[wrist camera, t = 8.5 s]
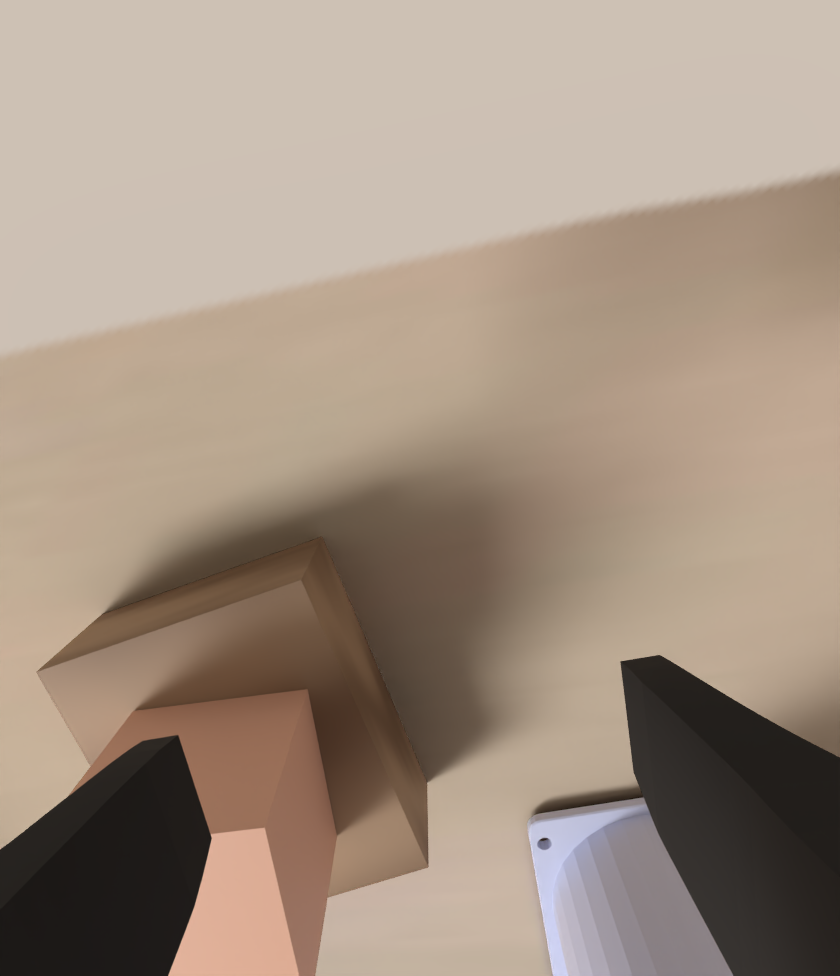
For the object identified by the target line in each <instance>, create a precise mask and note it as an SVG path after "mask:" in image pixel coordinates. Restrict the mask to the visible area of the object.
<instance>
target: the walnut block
mask: <svg viewBox="0 0 840 976" xmlns="http://www.w3.org/2000/svg"><path fill="white" fill-rule="evenodd" d="M36 673H37V674H38V676H39V678H40V680H41V681H42V683H43V685H44V687H45V688H46V690H47V692H48V693H49V695H50V697H51V699H52V700H53V702H54V704H55V706H56V707H57V709H58V711H59V712H60V714H61V716H62V718H63V719H64V721H65V723H66V725H67V726H68V728H69V730H70V731H71V733H72V735H73V737H74V738H75V740H76V742H77V744H78V745H79V747H80V749H81V751H82V752H83V754H84V756H85V757H86V759H87V761H88V763H89V764H90V766H92V764H93V763H94V762H95V760H96V759H97V758H98V756H99V755H100V754H101V753H102V751H103V750H104V749H105V747H106V746H107V745H108V743H109V742H110V741H111V739H112V738H113V737H114V735H115V734H116V733H117V731H118V730H119V729H120V728H121V726H122V725H123V724H124V722H125V721H126V720H127V718H128V717H129V716H130V714H131V713H132V712H133V711H136V710H144V709H152V708H160V707H168V706H176V705H184V704H192V703H200V702H208V701H216V700H224V699H232V698H240V697H248V696H256V695H264V694H272V693H281V692H289V691H297V690H305V689H308V694H309V699H310V704H311V709H312V714H313V719H314V724H315V729H316V734H317V739H318V744H319V749H320V754H321V759H322V764H323V769H324V774H325V779H326V784H327V789H328V794H329V799H330V804H331V809H332V814H333V819H334V824H335V829H336V834H337V840H336V847H335V853H334V859H333V865H332V872H331V878H330V884H329V891H328V897H331V896H334V895H338V894H341V893H344V892H348V891H351V890H354V889H358V888H361V887H364V886H368V885H371V884H374V883H378V882H381V881H384V880H388V879H391V878H394V877H398V876H401V875H404V874H408V873H411V872H414V871H418V870H421V869H424V868H428V811H427V782H426V779H425V777H424V774H423V772H422V770H421V767H420V765H419V763H418V760H417V758H416V756H415V753H414V751H413V749H412V746H411V744H410V742H409V739H408V737H407V735H406V732H405V730H404V728H403V725H402V723H401V721H400V718H399V716H398V714H397V711H396V709H395V706H394V704H393V702H392V699H391V697H390V695H389V692H388V690H387V688H386V685H385V683H384V681H383V678H382V676H381V674H380V671H379V669H378V667H377V664H376V662H375V660H374V657H373V655H372V653H371V650H370V648H369V645H368V643H367V641H366V638H365V636H364V634H363V631H362V629H361V627H360V624H359V622H358V620H357V617H356V615H355V613H354V610H353V608H352V606H351V603H350V601H349V599H348V596H347V594H346V592H345V589H344V587H343V584H342V582H341V580H340V577H339V575H338V573H337V570H336V568H335V566H334V563H333V561H332V559H331V556H330V554H329V552H328V549H327V547H326V545H325V542H324V540H323V538H322V537H320V538H317V539H314V540H311V541H308V542H306V543H303V544H300V545H297V546H294V547H291V548H289V549H286V550H283V551H280V552H277V553H274V554H272V555H269V556H266V557H263V558H260V559H257V560H255V561H252V562H249V563H246V564H243V565H240V566H238V567H235V568H232V569H229V570H226V571H223V572H221V573H218V574H215V575H212V576H209V577H206V578H204V579H201V580H198V581H195V582H192V583H189V584H187V585H184V586H181V587H178V588H175V589H172V590H170V591H167V592H164V593H161V594H158V595H155V596H153V597H150V598H147V599H144V600H141V601H138V602H136V603H133V604H130V605H127V606H124V607H121V608H119V609H116V610H113V611H110V612H107V613H104V614H102V615H101V616H100V617H98V618H97V619H96V620H95V621H94V622H93V623H92V624H90V625H89V626H88V627H87V628H86V629H85V630H84V631H82V632H81V633H80V634H79V635H78V636H77V637H76V638H74V639H73V640H72V641H71V642H70V643H69V644H68V645H66V646H65V647H64V648H63V649H62V650H61V651H60V652H59V653H57V654H56V655H55V656H54V657H53V658H52V659H51V660H49V661H48V662H47V663H46V664H45V665H44V666H43V667H41V668H40V669H39V670H38V671H37V672H36ZM328 897H327V898H328Z"/></svg>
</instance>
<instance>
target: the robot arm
mask: <svg viewBox="0 0 840 976" xmlns="http://www.w3.org/2000/svg"><path fill="white" fill-rule="evenodd" d="M621 670H622V678H623V686H624V695H625V703H626V711H627V720H628V728H629V737H630V745H631V753H632V762H633V770H634V774H635V776H636V779H637V782H638V784H639V787H640V789H641V792H642V794H643V798H636V799H630V800H623V801H617V802H611V803H604V804H598V805H591V806H585V807H578V808H572V809H566V810H559V811H553V812H546V813H540V814H536V815H534V816H532V817H531V818H530V819H529V821H528V823H527V829H528V835H529V840H530V846H531V852H532V858H533V864H534V869H535V875H536V881H537V887H538V892H539V898H540V904H541V910H542V915H543V921H544V927H545V933H546V938H547V944H548V950H549V956H550V962H551V967H552V973H553V976H840V758H839V757H837V756H835V755H834V754H832V753H830V752H828V751H826V750H824V749H822V748H820V747H818V746H816V745H814V744H812V743H810V742H808V741H806V740H804V739H802V738H800V737H799V736H797V735H795V734H793V733H791V732H789V731H788V730H786V729H784V728H782V727H780V726H778V725H777V724H775V723H773V722H771V721H769V720H768V719H766V718H764V717H762V716H761V715H759V714H757V713H755V712H754V711H752V710H750V709H748V708H747V707H745V706H743V705H742V704H740V703H738V702H737V701H735V700H733V699H732V698H730V697H728V696H727V695H725V694H723V693H722V692H720V691H718V690H717V689H715V688H713V687H712V686H710V685H708V684H707V683H705V682H704V681H702V680H700V679H699V678H697V677H695V676H694V675H692V674H691V673H689V672H687V671H686V670H684V669H682V668H681V667H679V666H677V665H676V664H674V663H673V662H671V661H669V660H667V659H666V658H664V657H662V656H660V655H657V656H651V657H645V658H639V659H633V660H627V661H621ZM542 838H548V839H547V840H545V841H539V840H540V839H542ZM211 840H212V837H211V834H210V831H209V828H208V825H207V821H206V818H205V815H204V812H203V809H202V806H201V803H200V800H199V797H198V794H197V791H196V788H195V785H194V782H193V779H192V775H191V772H190V769H189V766H188V763H187V760H186V757H185V754H184V751H183V748H182V745H181V742H180V739H179V736H178V735H174V736H168V737H162V738H156V739H150V740H144V741H141V742H140V743H138V744H137V745H135V746H134V747H132V748H131V749H129V750H128V751H126V752H125V753H124V754H122V755H121V756H119V757H118V758H117V759H115V760H114V761H113V762H111V763H110V764H109V765H107V766H106V767H105V768H104V769H102V770H101V771H100V772H98V773H97V774H96V775H95V776H93V777H92V778H91V779H90V780H88V781H87V782H86V783H84V784H83V785H82V786H81V787H79V788H78V789H77V790H76V791H74V792H73V793H72V794H71V795H69V796H68V797H67V798H66V799H64V800H63V801H62V802H61V803H59V804H58V805H57V806H56V807H54V808H53V809H52V810H50V811H49V812H48V813H47V814H45V815H44V816H43V817H42V818H40V819H39V820H38V821H37V822H35V823H34V824H33V825H32V826H30V827H29V828H28V829H27V830H25V831H24V832H23V833H21V834H20V835H19V836H18V837H16V838H15V839H14V840H13V841H11V842H10V843H9V844H7V845H6V846H5V847H3V848H2V849H1V850H0V976H168V975H169V973H170V970H171V967H172V965H173V962H174V960H175V957H176V954H177V952H178V949H179V947H180V944H181V941H182V939H183V936H184V933H185V931H186V928H187V926H188V923H189V920H190V917H191V915H192V912H193V909H194V907H195V903H196V899H197V896H198V892H199V888H200V885H201V881H202V877H203V874H204V869H205V865H206V861H207V857H208V853H209V848H210V844H211Z"/></svg>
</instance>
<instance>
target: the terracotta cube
mask: <svg viewBox="0 0 840 976" xmlns="http://www.w3.org/2000/svg"><path fill="white" fill-rule="evenodd" d="M174 735H178V736H179V739H180V742H181V745H182V748H183V751H184V754H185V757H186V760H187V763H188V766H189V769H190V772H191V775H192V779H193V782H194V785H195V788H196V791H197V794H198V797H199V800H200V803H201V806H202V809H203V812H204V815H205V818H206V821H207V825H208V828H209V831H210V834H211V837H212V840H211V844H210V848H209V853H208V857H207V861H206V865H205V869H204V874H203V877H202V881H201V885H200V888H199V892H198V896H197V899H196V903H195V907H194V909H193V912H192V915H191V917H190V920H189V923H188V926H187V928H186V931H185V933H184V936H183V939H182V941H181V944H180V947H179V949H178V952H177V954H176V957H175V960H174V962H173V965H172V967H171V970H170V973H169V975H168V976H315V973H316V966H317V960H318V954H319V947H320V941H321V935H322V929H323V922H324V916H325V910H326V903H327V897H328V891H329V884H330V878H331V872H332V865H333V859H334V853H335V847H336V840H337V834H336V829H335V824H334V819H333V814H332V809H331V804H330V799H329V794H328V789H327V784H326V779H325V774H324V769H323V764H322V759H321V754H320V749H319V744H318V739H317V734H316V729H315V724H314V719H313V714H312V709H311V704H310V699H309V694H308V689H305V690H297V691H289V692H281V693H272V694H264V695H256V696H248V697H240V698H232V699H224V700H216V701H208V702H200V703H192V704H184V705H176V706H168V707H160V708H152V709H144V710H136V711H133V712H132V713H131V714H130V716H129V717H128V718H127V720H126V721H125V722H124V724H123V725H122V726H121V728H120V729H119V730H118V731H117V733H116V734H115V735H114V737H113V738H112V739H111V741H110V742H109V743H108V745H107V746H106V747H105V749H104V750H103V751H102V753H101V754H100V755H99V756H98V758H97V759H96V760H95V762H94V763H93V764H92V766H91V767H90V768H89V770H88V771H87V772H86V774H85V775H84V776H83V777H82V779H81V780H80V781H79V783H78V784H77V785H76V787H75V788H74V789H73V791H72V792H71V793H70V795H71V794H72V793H73V792H74V791H76V790H77V789H78V788H79V787H81V786H82V785H83V784H84V783H86V782H87V781H88V780H90V779H91V778H92V777H93V776H95V775H96V774H97V773H98V772H100V771H101V770H102V769H104V768H105V767H106V766H107V765H109V764H110V763H111V762H113V761H114V760H115V759H117V758H118V757H119V756H121V755H122V754H124V753H125V752H126V751H128V750H129V749H131V748H132V747H134V746H135V745H137V744H138V743H140V742H141V741H144V740H150V739H156V738H162V737H168V736H174Z"/></svg>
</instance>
